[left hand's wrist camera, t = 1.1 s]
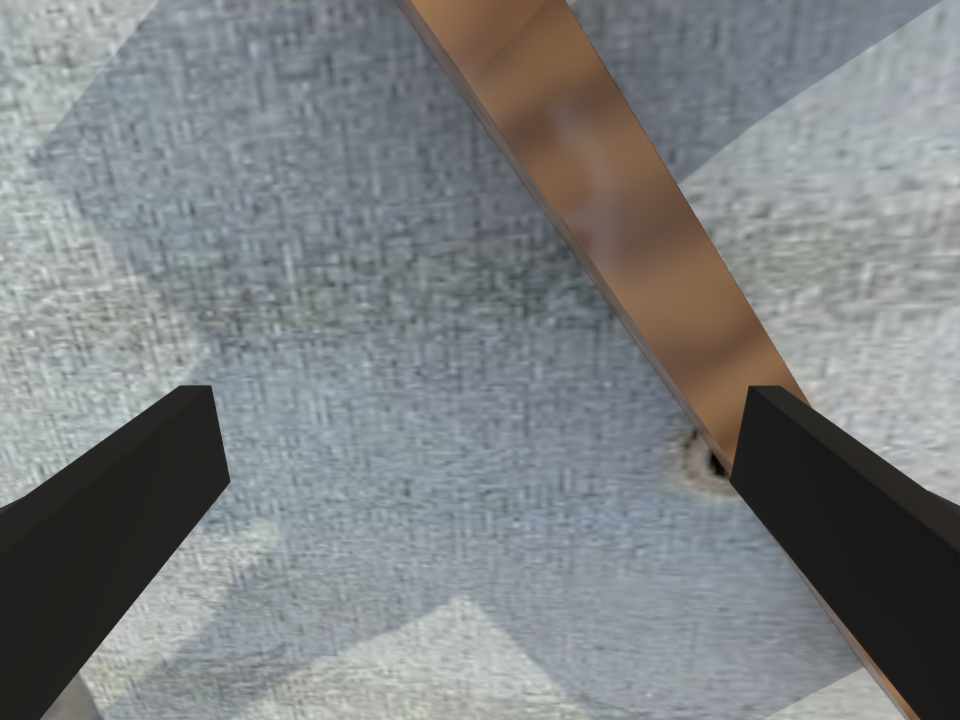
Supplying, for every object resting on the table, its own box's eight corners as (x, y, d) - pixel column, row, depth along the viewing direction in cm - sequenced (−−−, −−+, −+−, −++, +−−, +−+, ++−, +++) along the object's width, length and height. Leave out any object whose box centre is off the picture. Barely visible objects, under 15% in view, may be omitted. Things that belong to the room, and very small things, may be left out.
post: (284, -155, 25) (201, -298, 17) (360, -238, 24) (306, -429, 16) (863, 666, 45) (943, 767, 37) (918, 639, 44) (1012, 738, 36)
